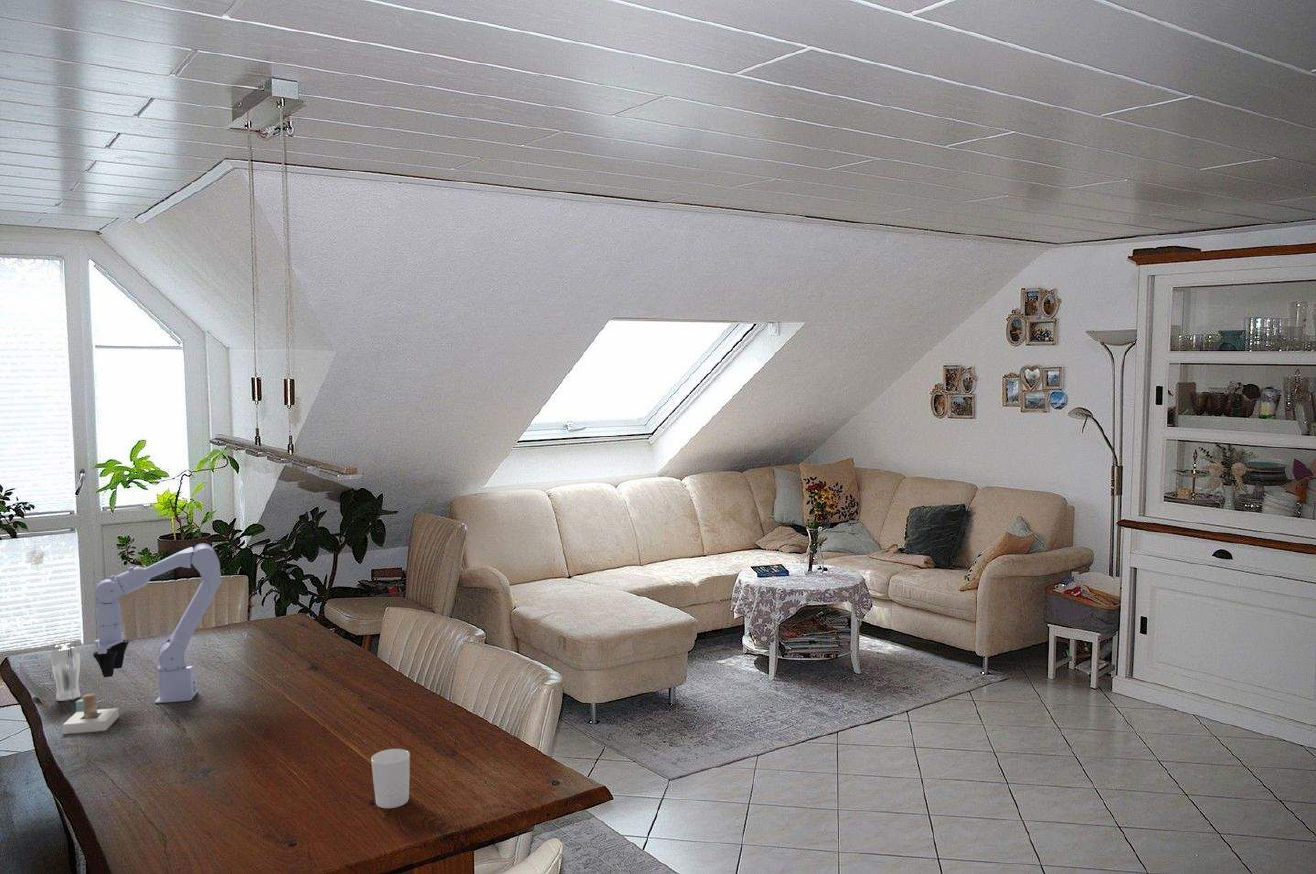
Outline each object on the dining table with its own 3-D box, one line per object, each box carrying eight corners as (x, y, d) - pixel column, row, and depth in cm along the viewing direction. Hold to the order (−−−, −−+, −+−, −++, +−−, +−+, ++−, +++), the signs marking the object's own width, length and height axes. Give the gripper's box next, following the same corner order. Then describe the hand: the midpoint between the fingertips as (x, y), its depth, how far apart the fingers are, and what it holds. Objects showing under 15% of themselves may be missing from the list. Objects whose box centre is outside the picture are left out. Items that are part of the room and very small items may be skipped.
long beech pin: (99, 722, 262) (97, 693, 262) (95, 727, 259) (93, 697, 259) (87, 724, 261) (84, 694, 261) (83, 728, 259) (80, 698, 258)
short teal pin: (91, 714, 269) (90, 698, 268) (87, 718, 266) (86, 702, 265) (79, 715, 268) (78, 699, 268) (75, 719, 265) (74, 703, 265)
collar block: (118, 717, 266) (118, 707, 266) (105, 730, 256) (105, 721, 256) (78, 720, 264) (77, 711, 264) (63, 734, 254) (62, 724, 254)
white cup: (377, 794, 215) (375, 749, 214) (414, 792, 215) (412, 747, 214) (369, 811, 207) (367, 764, 206) (408, 809, 207) (406, 762, 207)
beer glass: (69, 703, 278) (65, 650, 277) (48, 701, 280) (44, 649, 279) (88, 694, 285) (84, 643, 284) (67, 693, 287) (63, 642, 285)
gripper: (103, 618, 278) (106, 665, 279) (83, 631, 264) (87, 681, 265) (130, 616, 280) (133, 663, 281) (112, 629, 265) (116, 679, 267)
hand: (112, 672), depth 273 cm, fingers open, 7 cm apart
